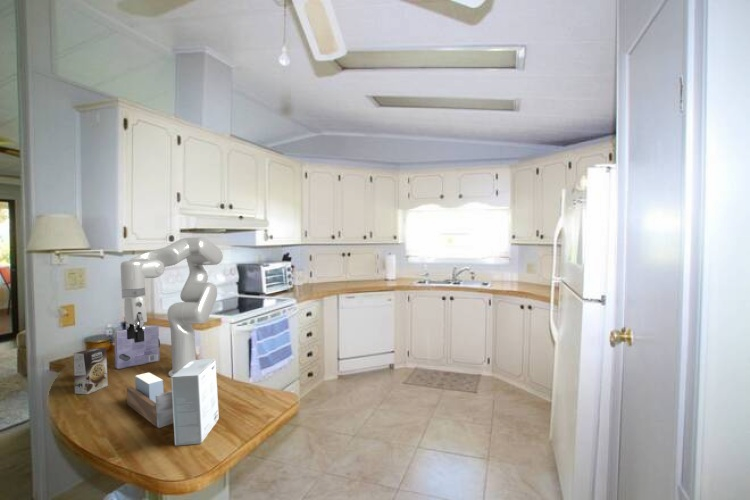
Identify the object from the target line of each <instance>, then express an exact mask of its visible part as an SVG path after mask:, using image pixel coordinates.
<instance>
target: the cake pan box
mask: <svg viewBox="0 0 750 500" xmlns="http://www.w3.org/2000/svg"><path fill="white" fill-rule="evenodd" d="M159 329H160V327H159V325H152V326H144V341H142V342H137V343H135V342H134V339H129V340H128V339H127V329H121V330H115V331H114V368H116V370H121V369H125V368H130V367H137V366H141V365H142V366H143V365H145V364H149V363H154V362H155V363H156V362H160V346H161V340H160V337H159V335H160V333H159V332H160V330H159Z"/></svg>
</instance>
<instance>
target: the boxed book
mask: <svg viewBox="0 0 750 500" xmlns="http://www.w3.org/2000/svg"><path fill="white" fill-rule="evenodd" d="M134 378H135V379H134V381H135V382H134V383H135V389H136V390H137V391H139V392H140V393H142V394H143V395H145V396H146V397H148V398H149V399H151V400H152V401H154V402H155V403H156V395H157V394H161V393H164V380H163V379H162V378H160V377H158V376H157V375H155V374H153V373H151V372H145V373H141V374H137V375H134Z"/></svg>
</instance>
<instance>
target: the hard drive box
mask: <svg viewBox="0 0 750 500" xmlns="http://www.w3.org/2000/svg"><path fill="white" fill-rule="evenodd" d="M170 379H171V390H172V400H173V419H174V423H173V432H174V434H173V436H174V438H173V439H174V446H187V445H189V446H190V445H198V444H199V445H200V444H202V443H203V442H204V440H205V439H206V438H207V436H208V435H209V433H210V432H211V431H212V429H213V428H214V426H215V425H216V424H217V423H218V421H219V420H220V416H219V397H218V384H217V383H218V382H217V364H216V359H215V358H206V359H204V358H203V359H196V360H192V361H190V362H189V363H188V364H187V365H185V366H184V367H183V368H182V369H181V370H179V371H178V372H177V373H176V374H174V375H173V376H172V377H171V376H170Z"/></svg>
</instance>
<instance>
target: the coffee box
mask: <svg viewBox="0 0 750 500" xmlns="http://www.w3.org/2000/svg"><path fill="white" fill-rule="evenodd" d="M107 361H108V360H107V347H101V346H99V347H91V348H88V349H84V350H80V351H77V352H74V353H73V364H74V365H73V368H74V369H73V372H74V394H77V395H78V394H79V395H89V394H92V393H94V392H96V391H98V390H101V389H104V388H106V387H108V385H109V384H108V382H109V381H108V362H107Z"/></svg>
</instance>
